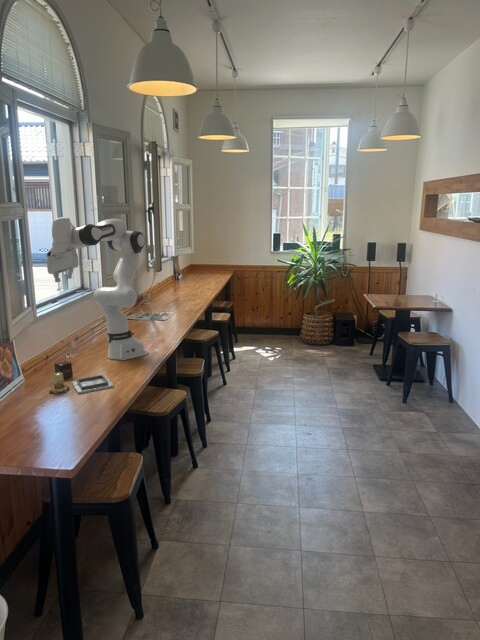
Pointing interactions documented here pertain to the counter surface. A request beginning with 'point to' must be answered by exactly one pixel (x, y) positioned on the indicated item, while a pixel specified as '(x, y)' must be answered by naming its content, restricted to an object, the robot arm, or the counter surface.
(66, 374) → the box
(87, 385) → the carrier
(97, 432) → the counter surface
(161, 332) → the counter surface
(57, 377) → the tan chunky piece
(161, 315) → the counter surface
